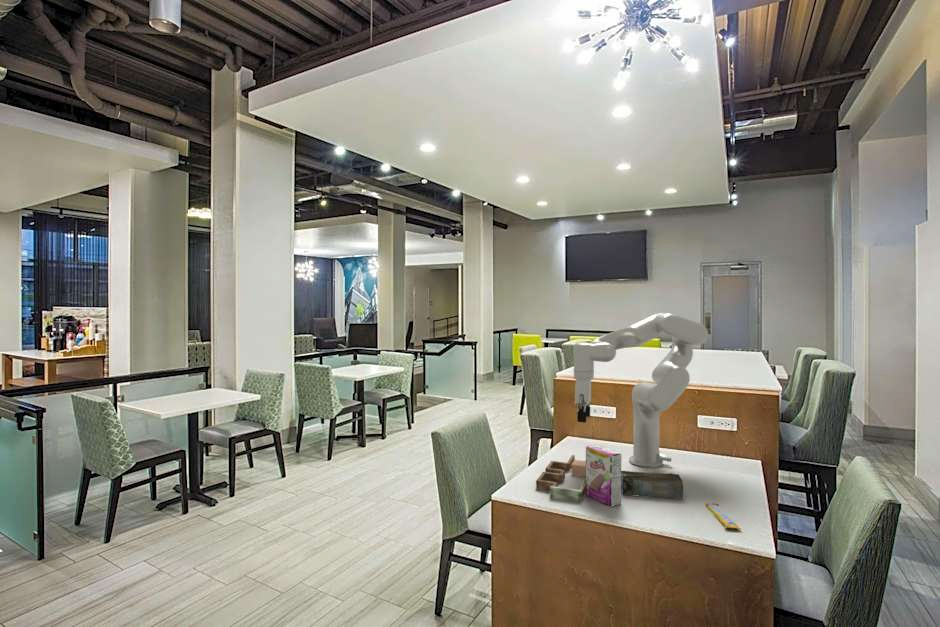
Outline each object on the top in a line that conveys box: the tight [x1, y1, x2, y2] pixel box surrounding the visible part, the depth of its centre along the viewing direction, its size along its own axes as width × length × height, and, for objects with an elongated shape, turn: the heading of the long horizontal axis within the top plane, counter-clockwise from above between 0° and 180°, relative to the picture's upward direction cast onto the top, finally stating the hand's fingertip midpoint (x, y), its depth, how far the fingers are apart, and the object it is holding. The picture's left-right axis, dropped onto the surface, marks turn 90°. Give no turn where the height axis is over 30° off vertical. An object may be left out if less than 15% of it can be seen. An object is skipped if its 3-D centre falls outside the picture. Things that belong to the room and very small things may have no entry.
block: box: [571, 459, 586, 477], centre depth 184 cm, size 5×6×4 cm
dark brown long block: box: [621, 470, 684, 500], centre depth 165 cm, size 8×19×7 cm, turn 77°
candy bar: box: [705, 502, 741, 530], centre depth 146 cm, size 17×4×2 cm, turn 173°
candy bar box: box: [585, 444, 622, 507], centre depth 159 cm, size 11×5×16 cm, turn 32°
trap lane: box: [535, 454, 586, 503], centre depth 177 cm, size 16×38×4 cm, turn 158°
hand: (583, 419), depth 191 cm, fingers open, 9 cm apart
